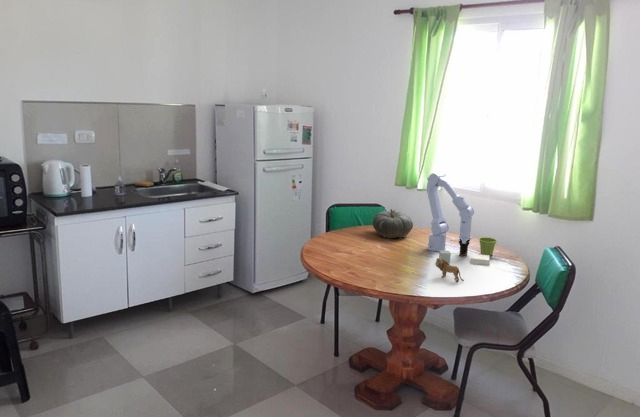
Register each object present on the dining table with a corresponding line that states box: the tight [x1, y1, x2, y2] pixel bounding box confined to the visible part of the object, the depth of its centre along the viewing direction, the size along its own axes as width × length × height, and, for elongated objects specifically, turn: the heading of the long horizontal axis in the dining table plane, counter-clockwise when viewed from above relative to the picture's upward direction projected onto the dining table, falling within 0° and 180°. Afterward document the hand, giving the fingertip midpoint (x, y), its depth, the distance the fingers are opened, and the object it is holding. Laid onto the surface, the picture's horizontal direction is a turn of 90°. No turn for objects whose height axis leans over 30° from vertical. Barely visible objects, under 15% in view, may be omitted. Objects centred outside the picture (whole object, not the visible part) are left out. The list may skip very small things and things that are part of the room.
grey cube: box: [438, 250, 452, 264], centre depth 262 cm, size 5×5×5 cm
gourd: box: [372, 208, 414, 239], centre depth 308 cm, size 25×25×17 cm
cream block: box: [470, 253, 490, 266], centre depth 262 cm, size 9×9×3 cm
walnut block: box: [459, 246, 469, 258], centre depth 272 cm, size 4×4×5 cm
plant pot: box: [478, 236, 498, 257], centre depth 273 cm, size 9×9×9 cm
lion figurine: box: [434, 257, 465, 283], centre depth 235 cm, size 15×5×9 cm, turn 51°
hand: (463, 252), depth 272 cm, fingers closed on walnut block, 4 cm apart
